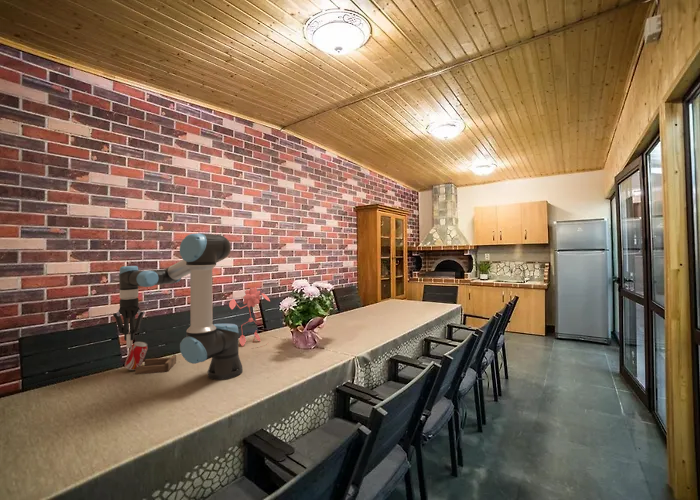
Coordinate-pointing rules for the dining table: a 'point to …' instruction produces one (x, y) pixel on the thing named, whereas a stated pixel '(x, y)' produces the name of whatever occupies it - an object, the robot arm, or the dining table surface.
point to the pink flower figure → (251, 300)
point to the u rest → (156, 365)
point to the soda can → (136, 355)
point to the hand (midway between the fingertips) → (129, 347)
